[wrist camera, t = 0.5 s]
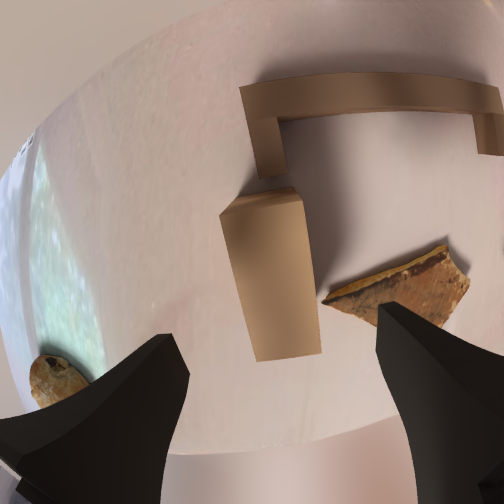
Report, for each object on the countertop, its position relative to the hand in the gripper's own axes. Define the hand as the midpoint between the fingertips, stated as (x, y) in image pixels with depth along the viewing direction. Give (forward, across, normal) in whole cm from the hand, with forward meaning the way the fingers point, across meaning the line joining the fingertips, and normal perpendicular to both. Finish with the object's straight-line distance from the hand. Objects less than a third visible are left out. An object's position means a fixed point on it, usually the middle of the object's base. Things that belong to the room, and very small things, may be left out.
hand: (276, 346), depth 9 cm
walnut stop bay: (+9, -9, -7) cm, 15 cm away
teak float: (+9, 0, 0) cm, 9 cm away
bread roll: (+10, +28, +13) cm, 32 cm away
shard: (+10, -9, +6) cm, 15 cm away
